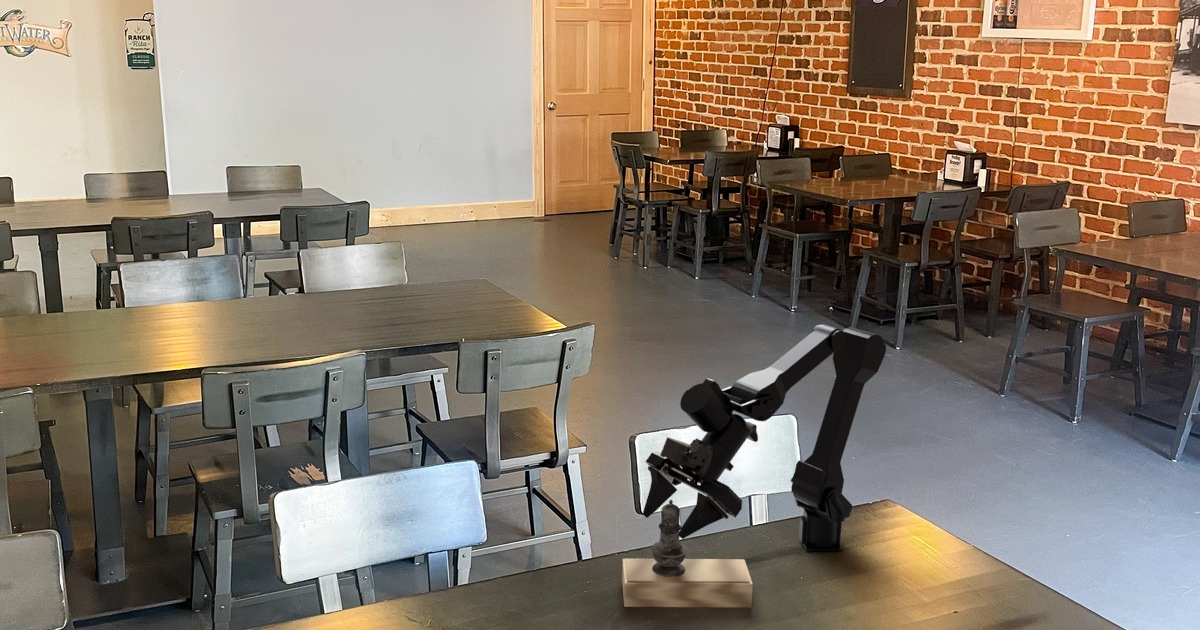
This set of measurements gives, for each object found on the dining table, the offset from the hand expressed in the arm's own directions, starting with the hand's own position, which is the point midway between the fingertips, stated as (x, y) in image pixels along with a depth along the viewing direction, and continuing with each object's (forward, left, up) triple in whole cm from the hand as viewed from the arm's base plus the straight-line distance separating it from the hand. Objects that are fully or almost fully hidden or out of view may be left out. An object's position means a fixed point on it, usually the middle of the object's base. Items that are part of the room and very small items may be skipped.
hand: (662, 526), depth 169 cm
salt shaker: (-1, -1, -8) cm, 8 cm away
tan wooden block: (-4, -1, -12) cm, 13 cm away
